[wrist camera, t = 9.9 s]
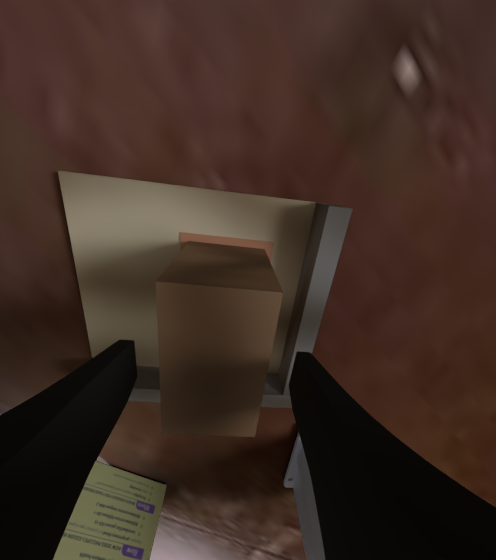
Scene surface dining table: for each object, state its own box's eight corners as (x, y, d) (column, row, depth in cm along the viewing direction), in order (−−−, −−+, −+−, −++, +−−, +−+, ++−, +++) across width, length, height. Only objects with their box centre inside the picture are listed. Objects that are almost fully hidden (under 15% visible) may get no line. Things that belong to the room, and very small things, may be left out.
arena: (288, 379, 19) (296, 408, 17) (99, 369, 18) (78, 398, 15) (332, 204, 14) (352, 208, 11) (65, 171, 12) (24, 168, 10)
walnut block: (264, 249, 14) (283, 292, 8) (248, 353, 17) (254, 436, 11) (189, 241, 13) (155, 281, 8) (187, 349, 16) (161, 434, 11)
